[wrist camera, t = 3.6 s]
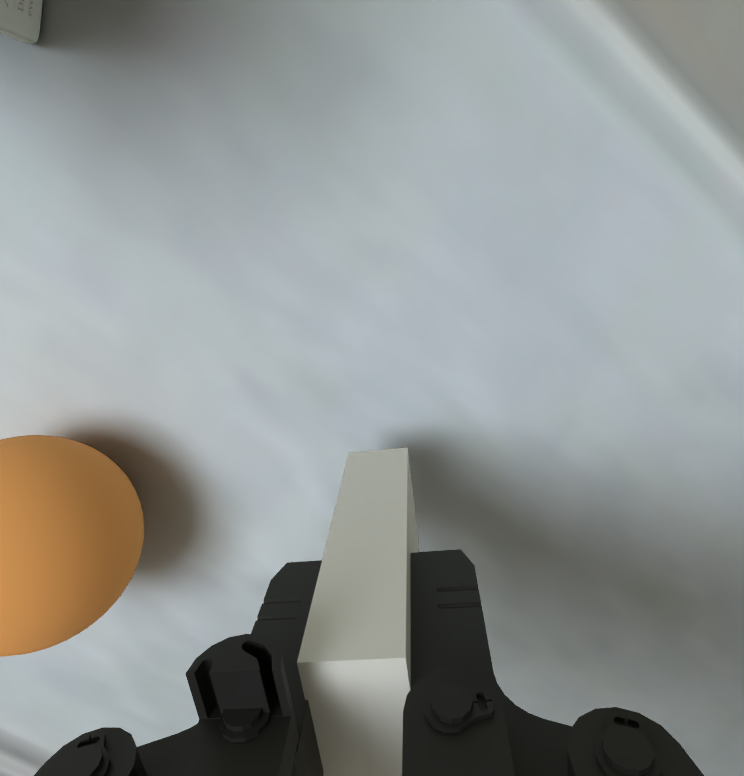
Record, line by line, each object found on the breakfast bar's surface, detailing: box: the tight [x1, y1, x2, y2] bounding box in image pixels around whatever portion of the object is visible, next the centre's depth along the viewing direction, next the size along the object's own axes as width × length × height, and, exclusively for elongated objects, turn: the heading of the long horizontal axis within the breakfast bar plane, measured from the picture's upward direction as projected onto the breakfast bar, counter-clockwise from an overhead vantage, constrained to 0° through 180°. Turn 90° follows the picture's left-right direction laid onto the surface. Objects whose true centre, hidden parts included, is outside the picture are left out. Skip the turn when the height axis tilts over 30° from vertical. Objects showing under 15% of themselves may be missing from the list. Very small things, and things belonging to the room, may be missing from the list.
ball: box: [0, 435, 144, 656], centre depth 14 cm, size 6×6×6 cm
